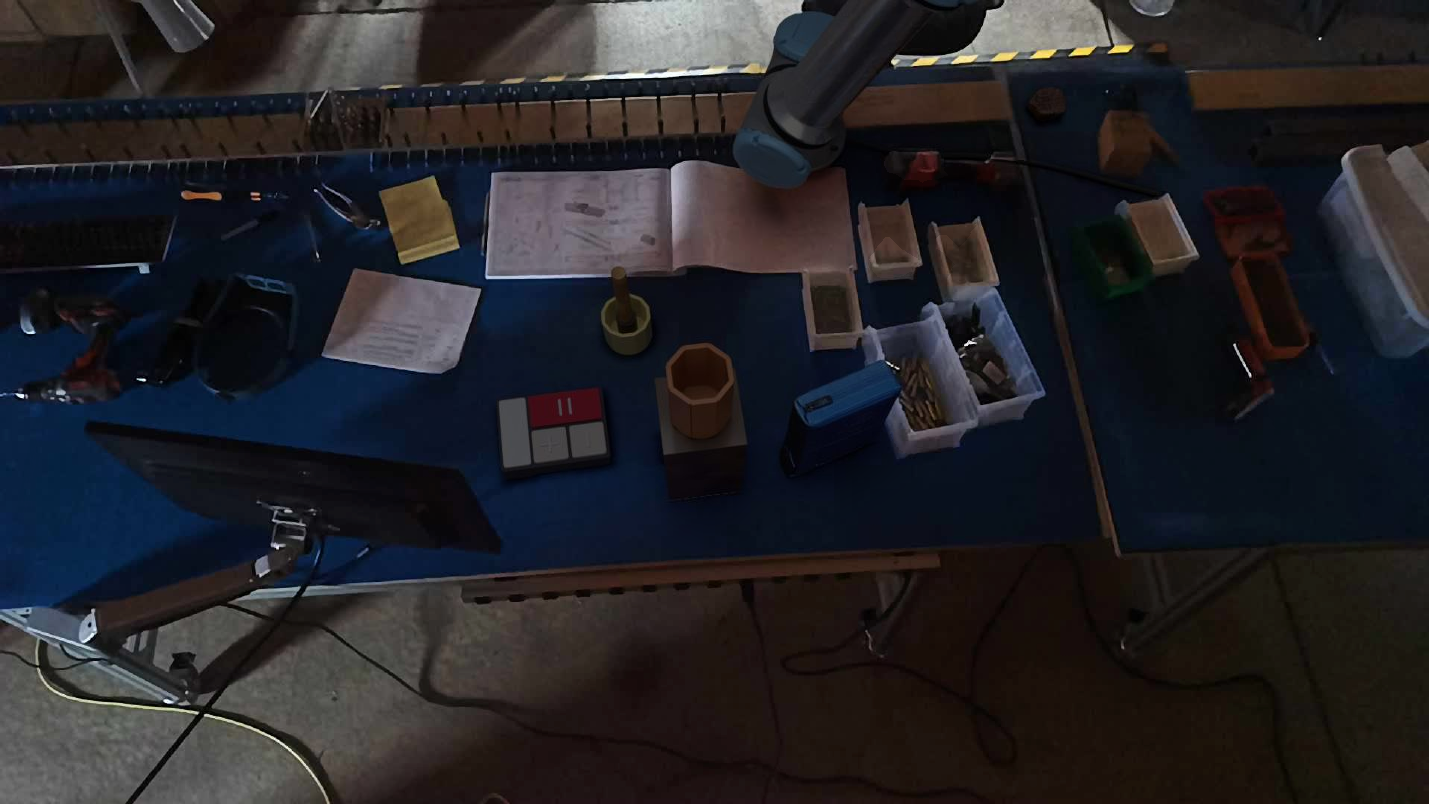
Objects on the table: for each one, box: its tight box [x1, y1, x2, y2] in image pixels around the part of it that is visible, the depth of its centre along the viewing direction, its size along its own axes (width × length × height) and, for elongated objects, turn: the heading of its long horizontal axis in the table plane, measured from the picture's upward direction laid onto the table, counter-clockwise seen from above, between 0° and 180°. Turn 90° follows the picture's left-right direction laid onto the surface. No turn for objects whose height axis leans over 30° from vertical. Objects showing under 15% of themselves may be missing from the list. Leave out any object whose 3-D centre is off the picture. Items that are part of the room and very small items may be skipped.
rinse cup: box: [600, 293, 653, 356], centre depth 125 cm, size 7×7×6 cm
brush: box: [610, 266, 638, 334], centre depth 119 cm, size 3×3×17 cm
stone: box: [1026, 86, 1067, 122], centre depth 144 cm, size 7×7×3 cm
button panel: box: [495, 385, 612, 480], centre depth 119 cm, size 11×4×15 cm
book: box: [778, 359, 903, 478], centre depth 112 cm, size 14×5×20 cm, turn 115°
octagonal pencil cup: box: [664, 342, 735, 439], centre depth 96 cm, size 7×7×11 cm
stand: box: [653, 368, 749, 504], centre depth 110 cm, size 10×10×20 cm
